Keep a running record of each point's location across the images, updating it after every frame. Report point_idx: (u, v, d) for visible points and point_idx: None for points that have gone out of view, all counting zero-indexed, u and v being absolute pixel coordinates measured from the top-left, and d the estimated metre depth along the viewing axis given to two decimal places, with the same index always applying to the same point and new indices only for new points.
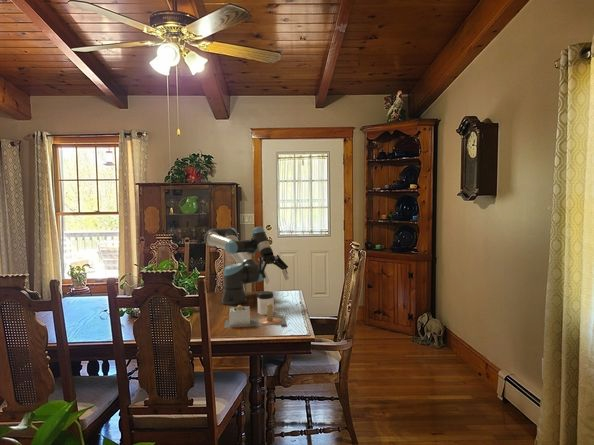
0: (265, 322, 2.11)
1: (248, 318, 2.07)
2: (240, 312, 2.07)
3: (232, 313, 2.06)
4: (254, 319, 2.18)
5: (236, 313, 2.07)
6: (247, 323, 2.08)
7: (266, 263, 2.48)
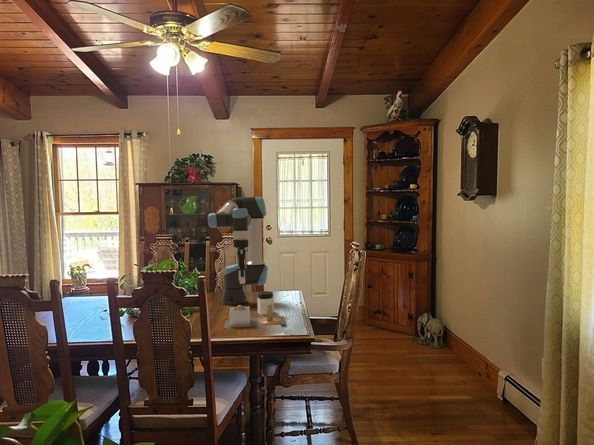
0: (265, 322, 2.11)
1: (248, 318, 2.07)
2: (240, 312, 2.07)
3: (232, 313, 2.06)
4: (254, 319, 2.18)
5: (236, 313, 2.07)
6: (247, 323, 2.08)
7: None
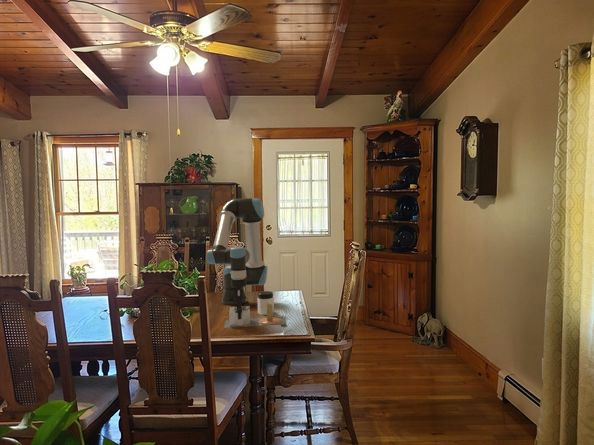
0: (265, 322, 2.11)
1: (248, 318, 2.07)
2: None
3: (232, 313, 2.06)
4: (254, 319, 2.18)
5: (236, 313, 2.07)
6: (247, 323, 2.08)
7: None
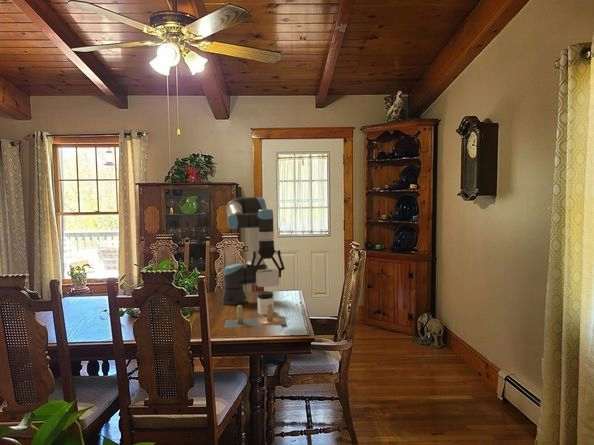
0: (265, 322, 2.11)
1: None
2: (277, 271, 2.14)
3: (277, 273, 2.10)
4: (254, 319, 2.18)
5: None
6: None
7: (261, 260, 2.11)
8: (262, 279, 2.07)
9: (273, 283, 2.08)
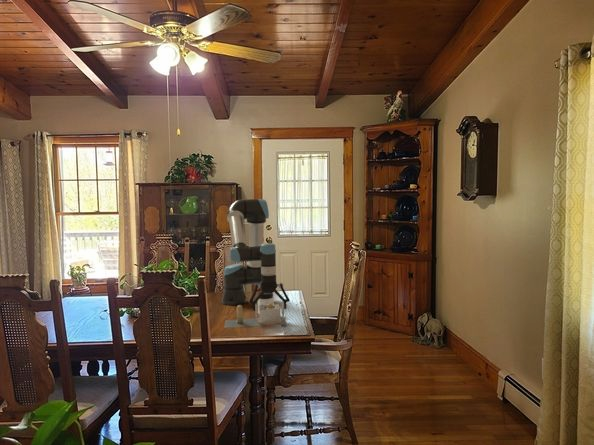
0: None
1: None
2: (279, 307, 2.15)
3: None
4: (254, 319, 2.18)
5: None
6: None
7: (262, 294, 2.12)
8: (264, 316, 2.08)
9: (275, 320, 2.09)
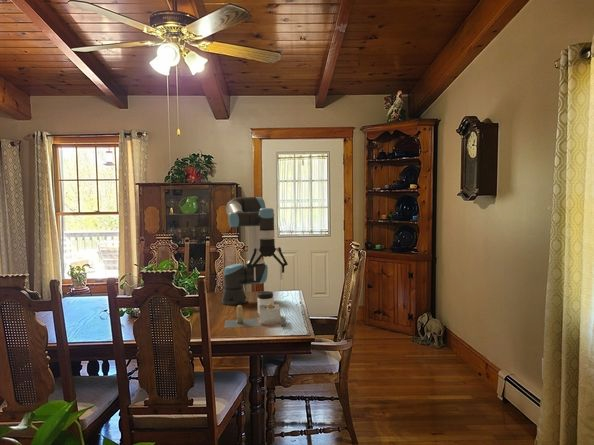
0: None
1: None
2: (279, 307, 2.15)
3: None
4: (254, 319, 2.18)
5: None
6: None
7: (260, 257, 2.15)
8: (264, 316, 2.08)
9: (275, 320, 2.09)
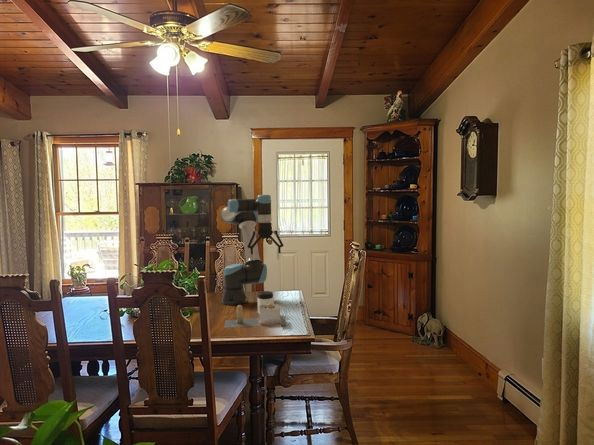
0: None
1: None
2: (279, 307, 2.15)
3: None
4: (254, 319, 2.18)
5: None
6: None
7: (258, 239, 2.38)
8: (264, 316, 2.08)
9: (275, 320, 2.09)
